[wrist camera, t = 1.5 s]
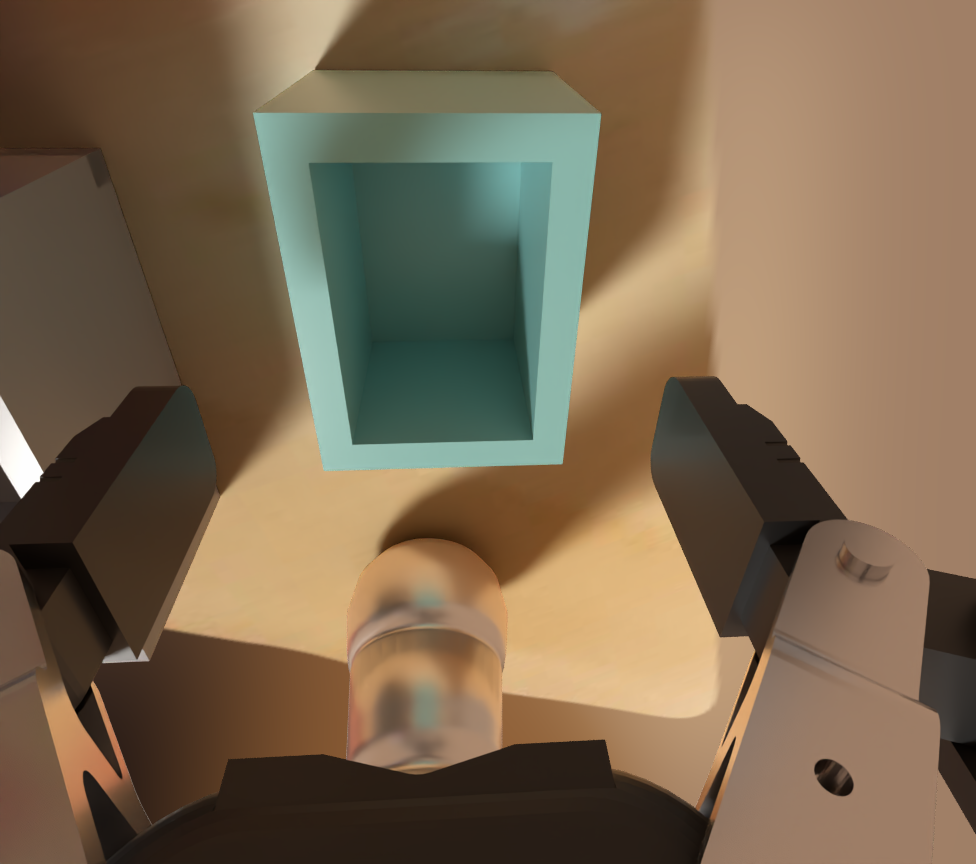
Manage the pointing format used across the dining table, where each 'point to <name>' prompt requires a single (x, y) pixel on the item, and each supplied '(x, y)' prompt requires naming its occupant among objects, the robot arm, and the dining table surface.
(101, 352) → the gray crate
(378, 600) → the plastic bottle
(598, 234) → the dining table surface
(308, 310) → the teal crate
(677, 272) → the dining table surface
